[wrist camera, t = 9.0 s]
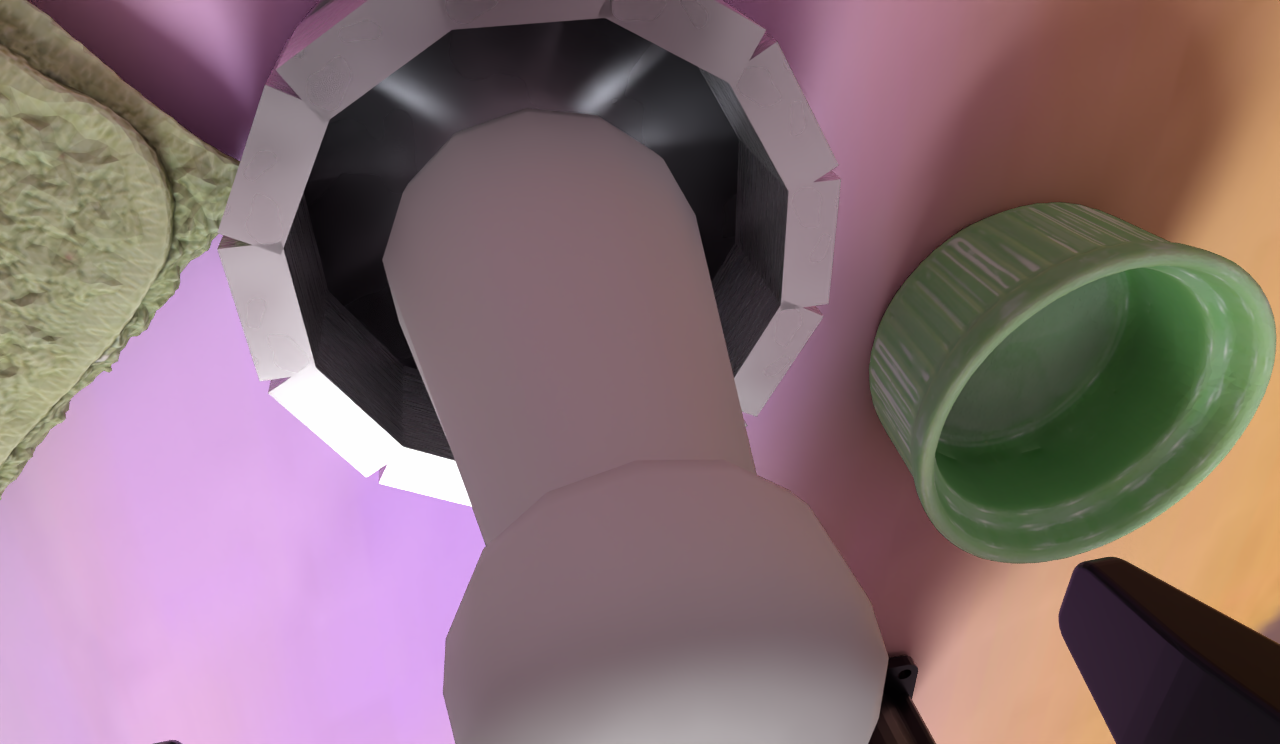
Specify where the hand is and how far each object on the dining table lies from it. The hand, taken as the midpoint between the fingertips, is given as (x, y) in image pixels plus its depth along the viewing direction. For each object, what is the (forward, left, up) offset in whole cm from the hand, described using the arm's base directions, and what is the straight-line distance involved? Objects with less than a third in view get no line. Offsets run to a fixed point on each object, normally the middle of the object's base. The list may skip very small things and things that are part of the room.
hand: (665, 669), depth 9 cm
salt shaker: (0, 0, -12) cm, 12 cm away
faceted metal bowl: (0, 0, -13) cm, 13 cm away
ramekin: (-13, +6, -13) cm, 19 cm away
